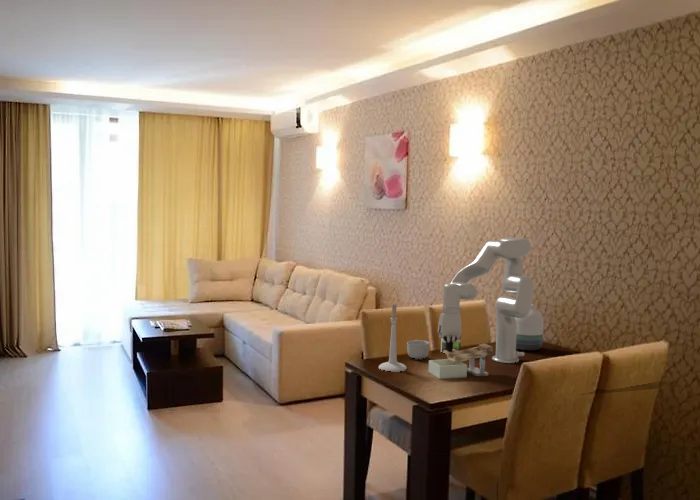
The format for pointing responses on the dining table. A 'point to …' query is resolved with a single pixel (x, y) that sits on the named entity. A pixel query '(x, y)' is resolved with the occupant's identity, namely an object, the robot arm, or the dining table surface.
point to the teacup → (418, 349)
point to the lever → (469, 353)
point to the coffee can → (455, 345)
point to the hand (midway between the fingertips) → (449, 350)
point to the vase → (530, 331)
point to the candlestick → (393, 348)
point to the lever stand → (477, 371)
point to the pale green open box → (447, 369)
